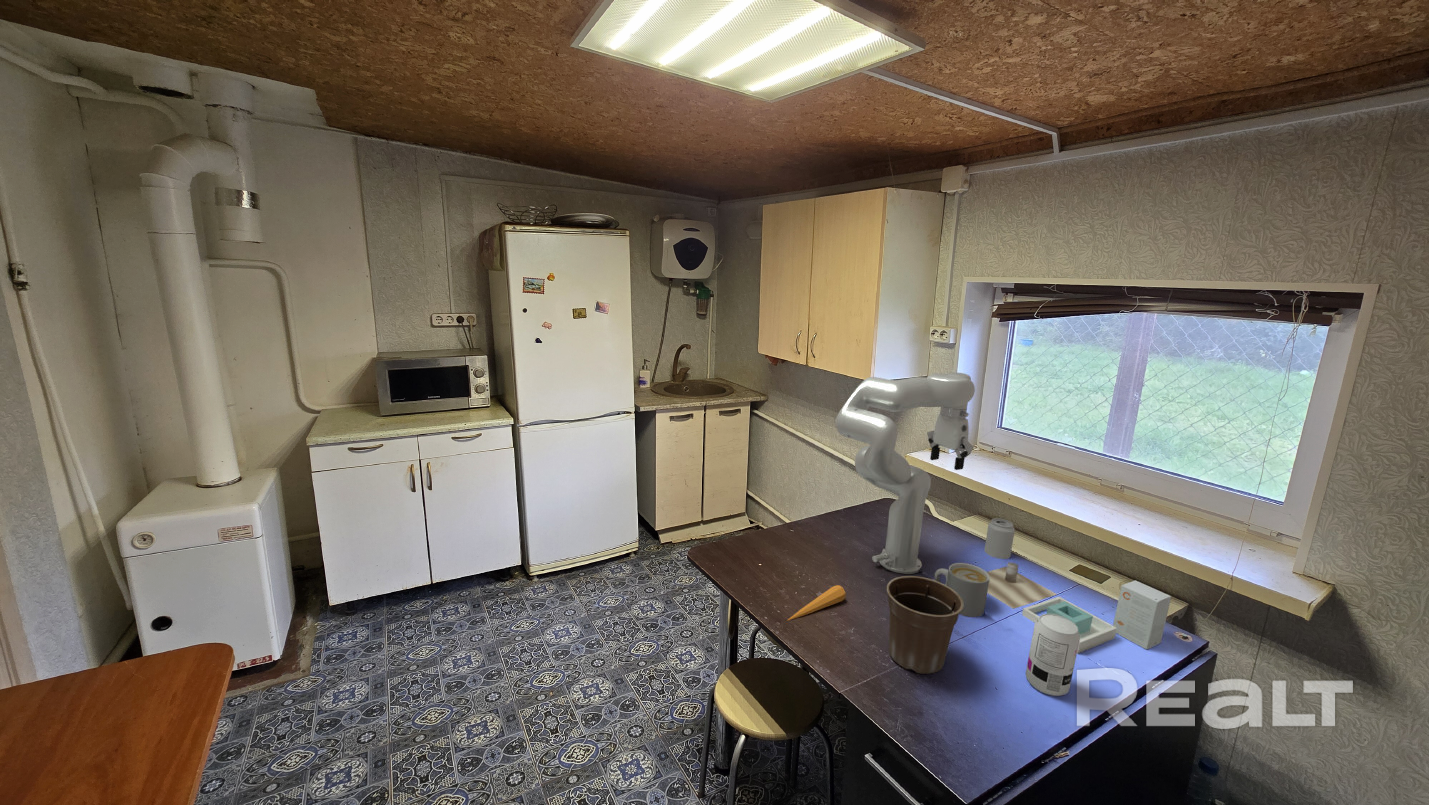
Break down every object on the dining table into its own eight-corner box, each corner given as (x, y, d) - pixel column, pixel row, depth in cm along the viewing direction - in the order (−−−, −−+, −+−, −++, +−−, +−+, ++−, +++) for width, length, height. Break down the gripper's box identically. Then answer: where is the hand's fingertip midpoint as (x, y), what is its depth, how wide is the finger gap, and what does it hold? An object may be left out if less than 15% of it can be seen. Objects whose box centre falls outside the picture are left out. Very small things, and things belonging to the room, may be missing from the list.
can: (1004, 551, 178) (1009, 517, 175) (1014, 563, 170) (1020, 528, 168) (980, 549, 178) (985, 515, 176) (989, 561, 171) (994, 526, 168)
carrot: (838, 598, 150) (834, 582, 150) (850, 600, 146) (845, 583, 147) (783, 628, 140) (778, 610, 140) (794, 631, 136) (789, 613, 136)
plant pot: (914, 627, 137) (922, 569, 134) (969, 668, 123) (979, 604, 120) (865, 645, 130) (871, 584, 126) (917, 690, 116) (927, 623, 112)
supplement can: (1017, 671, 123) (1027, 612, 119) (1051, 670, 123) (1063, 611, 120) (1041, 698, 115) (1053, 636, 111) (1077, 697, 115) (1091, 635, 112)
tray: (1077, 653, 129) (1079, 642, 129) (1021, 618, 142) (1023, 608, 141) (1114, 638, 135) (1117, 628, 135) (1057, 606, 148) (1059, 596, 148)
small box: (1161, 643, 134) (1172, 596, 131) (1146, 650, 131) (1158, 602, 128) (1124, 624, 141) (1135, 579, 138) (1110, 630, 138) (1120, 584, 135)
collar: (1089, 630, 137) (1092, 616, 136) (1068, 638, 133) (1071, 624, 133) (1062, 614, 143) (1065, 601, 142) (1041, 622, 140) (1043, 608, 139)
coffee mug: (991, 609, 146) (997, 575, 144) (971, 621, 140) (977, 586, 138) (945, 585, 157) (950, 554, 154) (925, 596, 151) (929, 563, 149)
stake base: (1012, 612, 145) (1016, 591, 143) (963, 582, 159) (966, 562, 157) (1056, 598, 152) (1060, 578, 151) (1005, 570, 166) (1008, 551, 165)
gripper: (985, 418, 164) (977, 471, 168) (940, 405, 179) (933, 454, 183) (967, 420, 161) (959, 474, 165) (923, 407, 176) (917, 457, 180)
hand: (946, 464), depth 174 cm, fingers open, 9 cm apart
